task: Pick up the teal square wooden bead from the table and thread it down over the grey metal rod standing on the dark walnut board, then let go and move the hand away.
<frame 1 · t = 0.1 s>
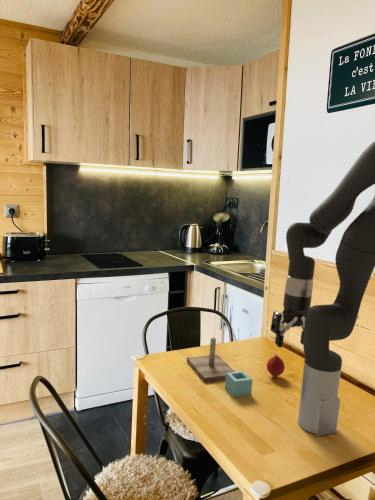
hand: (291, 345, 119), 17 cm above the table, tool pointing down, fingers open, 8 cm apart
bead: (237, 391, 125), on the table
onion: (274, 377, 136), on the table
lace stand: (211, 369, 139), on the table
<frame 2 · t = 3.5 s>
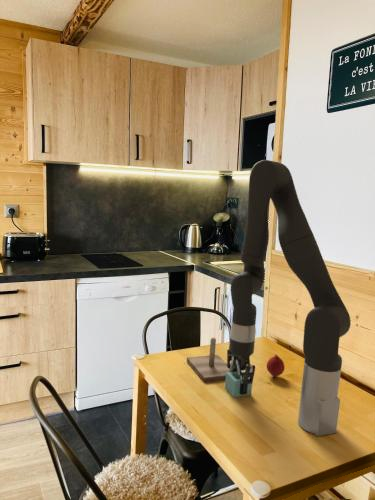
hand: (238, 388, 125), 1 cm above the table, tool pointing down, fingers closed on bead, 6 cm apart
bead: (237, 391, 125), on the table, touching gripper
everything else where it was.
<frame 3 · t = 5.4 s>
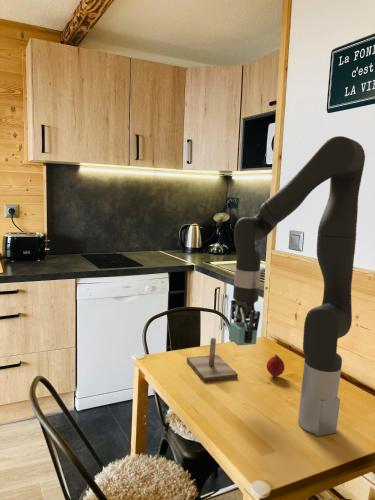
hand: (242, 338, 122), 17 cm above the table, tool pointing down, fingers closed on bead, 6 cm apart
bead: (242, 341, 122), point 16 cm above the table, touching gripper
everything else where it was.
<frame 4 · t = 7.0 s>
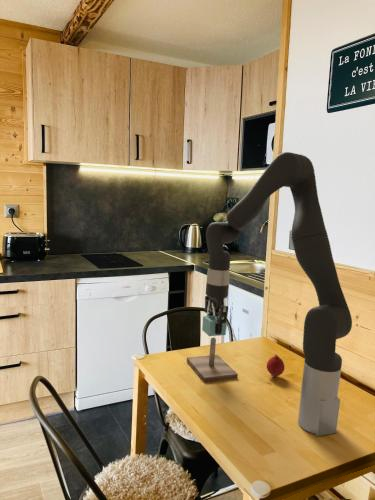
hand: (213, 330, 137), 14 cm above the table, tool pointing down, fingers closed on bead, 6 cm apart
bead: (213, 332, 137), point 13 cm above the table, touching gripper
everything else where it was.
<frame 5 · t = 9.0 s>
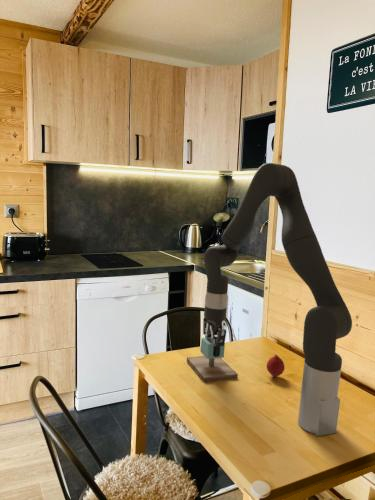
hand: (212, 352, 138), 6 cm above the table, tool pointing down, fingers closed on bead, 6 cm apart
bead: (211, 354, 138), point 5 cm above the table, touching gripper
everything else where it was.
when the fingers open (3 cm above the table, at t = 10.7 s): bead stays where it is, resting on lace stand.
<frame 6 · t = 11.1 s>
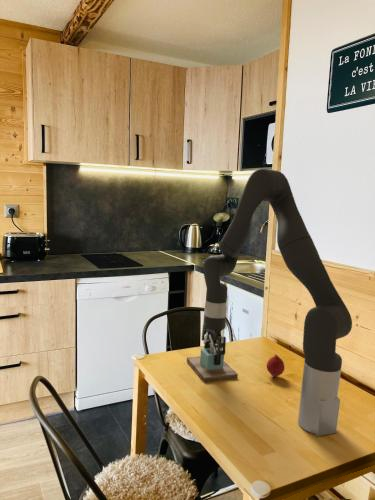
hand: (211, 359, 138), 4 cm above the table, tool pointing down, fingers open, 8 cm apart
bead: (211, 365, 139), point 1 cm above the table, touching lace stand
everything else where it was.
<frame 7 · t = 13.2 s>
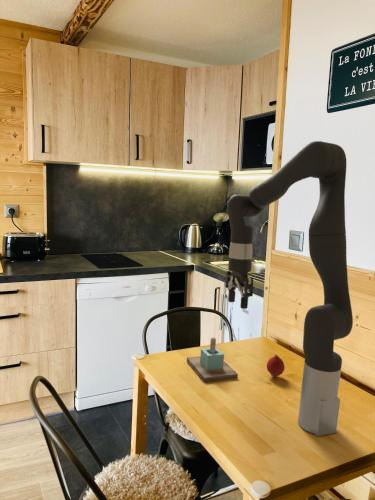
hand: (237, 305, 134), 24 cm above the table, tool pointing down, fingers open, 8 cm apart
nothing on the table moved.
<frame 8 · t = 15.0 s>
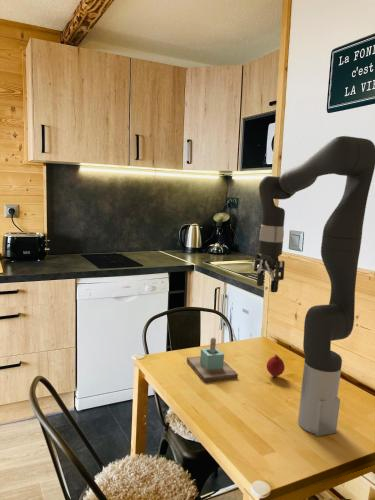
hand: (266, 288, 132), 30 cm above the table, tool pointing down, fingers open, 8 cm apart
nothing on the table moved.
at the end: bead 0.1 cm off-centre on the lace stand, point 1.5 cm above the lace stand's base; the gripper is holding nothing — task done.
